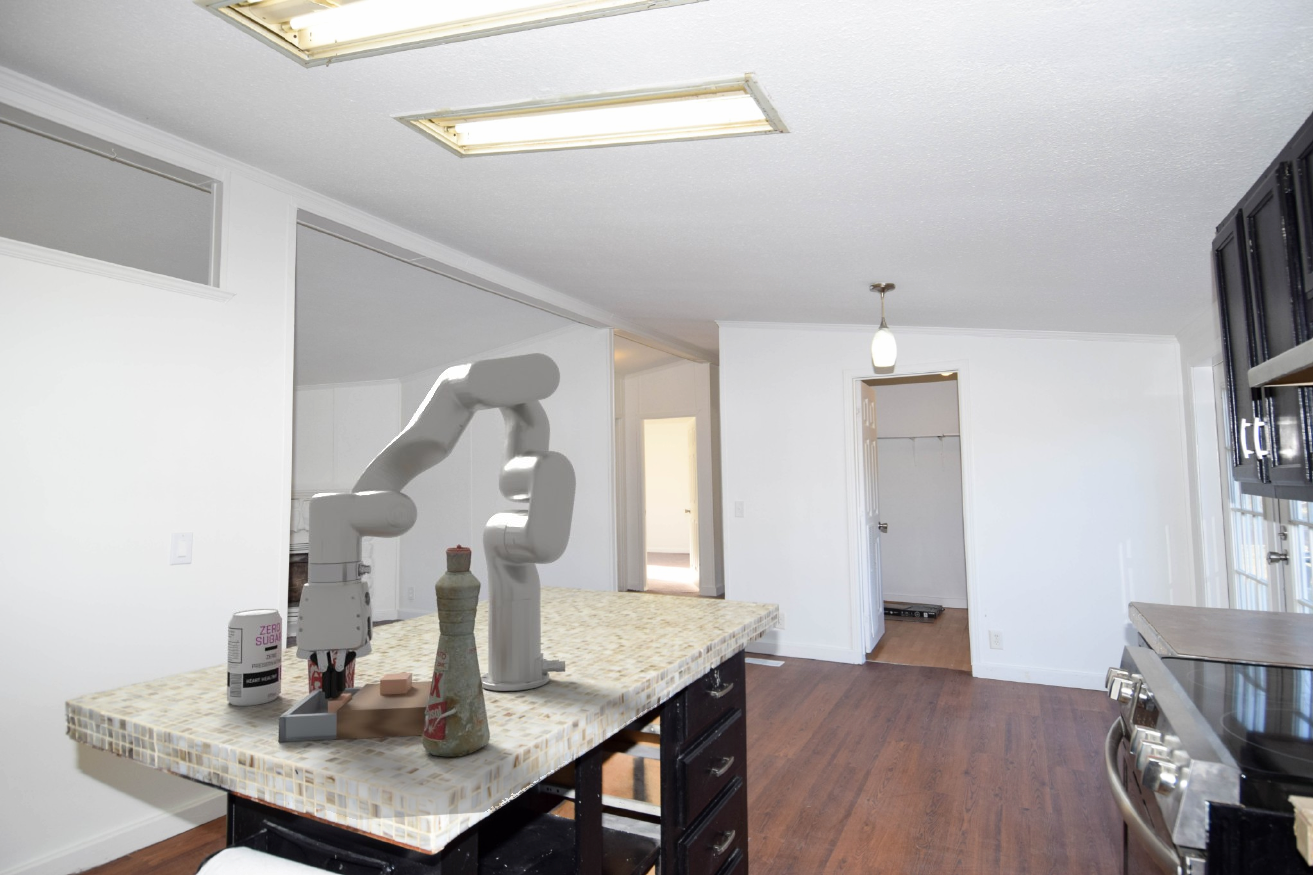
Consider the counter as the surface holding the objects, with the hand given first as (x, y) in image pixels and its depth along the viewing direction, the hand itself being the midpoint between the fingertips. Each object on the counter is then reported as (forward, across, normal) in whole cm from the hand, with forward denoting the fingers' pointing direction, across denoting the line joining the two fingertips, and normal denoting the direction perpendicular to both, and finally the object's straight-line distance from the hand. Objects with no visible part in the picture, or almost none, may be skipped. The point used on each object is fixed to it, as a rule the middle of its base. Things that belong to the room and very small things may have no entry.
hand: (333, 696), depth 113 cm
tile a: (+2, -2, 0) cm, 3 cm away
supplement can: (+5, +19, -18) cm, 27 cm away
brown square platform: (+5, -8, -2) cm, 10 cm away
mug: (+5, +7, -22) cm, 24 cm away
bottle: (+5, -20, +12) cm, 24 cm away
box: (+5, +2, -2) cm, 6 cm away
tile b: (+1, -8, -5) cm, 9 cm away
